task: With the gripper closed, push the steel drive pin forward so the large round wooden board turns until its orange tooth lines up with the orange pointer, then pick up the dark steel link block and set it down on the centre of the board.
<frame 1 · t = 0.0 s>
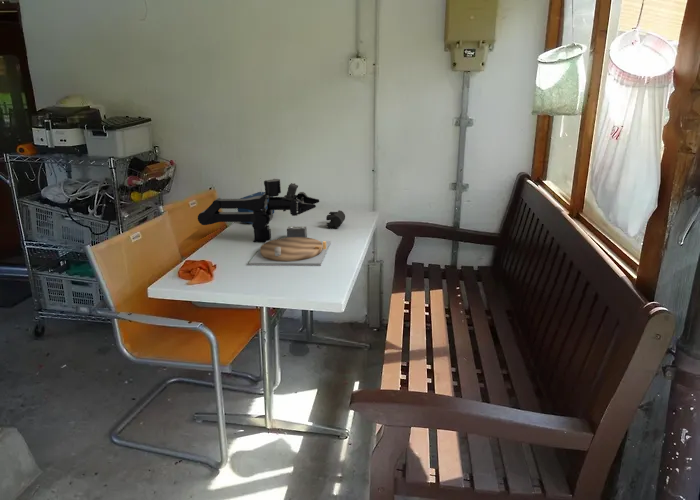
hand: (317, 203, 232), 17 cm above the table, tool horizontal, fingers open, 9 cm apart
round wooden board: (291, 245, 220), point 4 cm above the table, hinge at 0.0°
radio: (257, 219, 274), on the table
end cap: (336, 227, 257), on the table
base plate: (292, 253, 221), on the table
steel link block: (297, 238, 241), on the table
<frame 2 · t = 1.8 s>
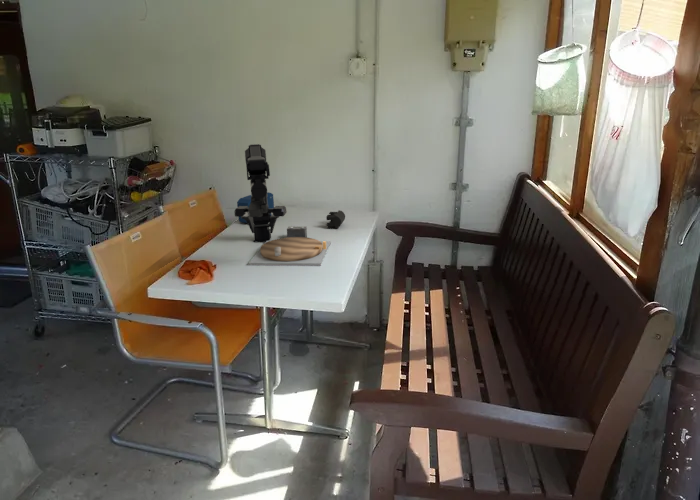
hand: (262, 233, 207), 12 cm above the table, tool pointing down, fingers open, 7 cm apart
nothing on the table moved.
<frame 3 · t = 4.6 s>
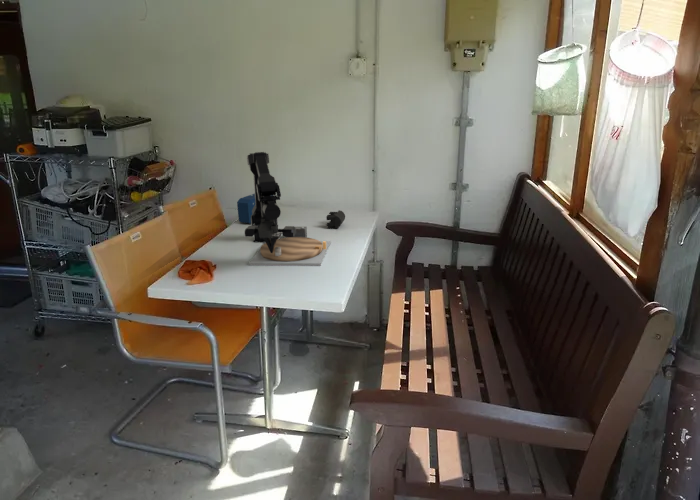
hand: (271, 252, 209), 4 cm above the table, tool pointing down, fingers closed
round wooden board: (291, 245, 220), point 4 cm above the table, hinge at 0.7°, touching gripper
everything else where it was.
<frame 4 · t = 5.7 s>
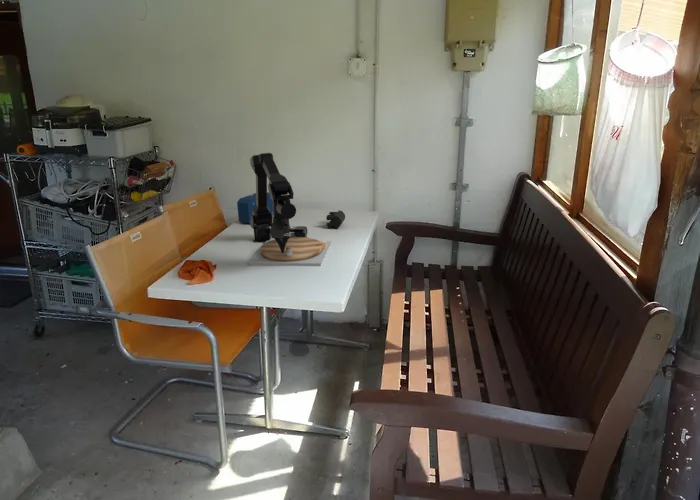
hand: (282, 252, 208), 4 cm above the table, tool pointing down, fingers closed
round wooden board: (291, 245, 220), point 4 cm above the table, hinge at 22.8°, touching gripper
everything else where it was.
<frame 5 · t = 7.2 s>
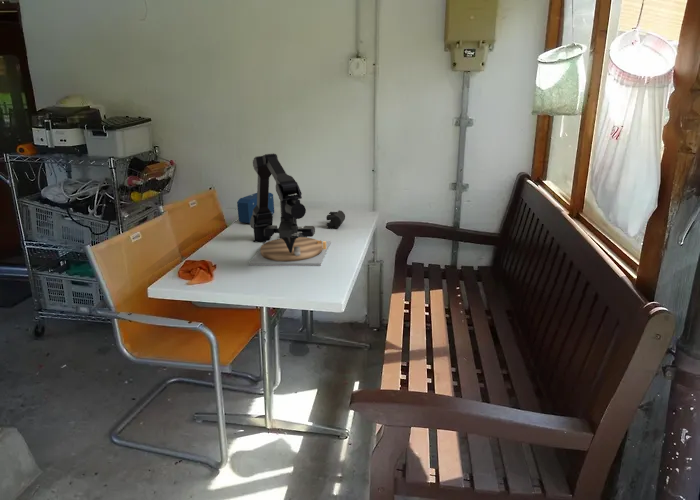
hand: (290, 252, 209), 4 cm above the table, tool pointing down, fingers closed
round wooden board: (291, 245, 220), point 4 cm above the table, hinge at 38.2°, touching gripper
everything else where it was.
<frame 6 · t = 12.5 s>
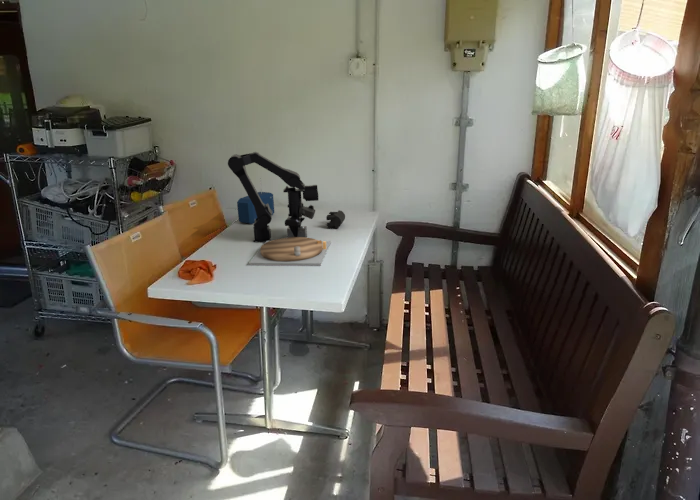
hand: (297, 236, 241), 1 cm above the table, tool pointing down, fingers closed on steel link block, 4 cm apart
round wooden board: (291, 245, 220), point 4 cm above the table, hinge at 38.4°
steel link block: (297, 238, 241), on the table, touching gripper
everything else where it was.
when the fingers open (6 cm above the table, at t = 17.2 s): steel link block drops 1 cm, resting on round wooden board.
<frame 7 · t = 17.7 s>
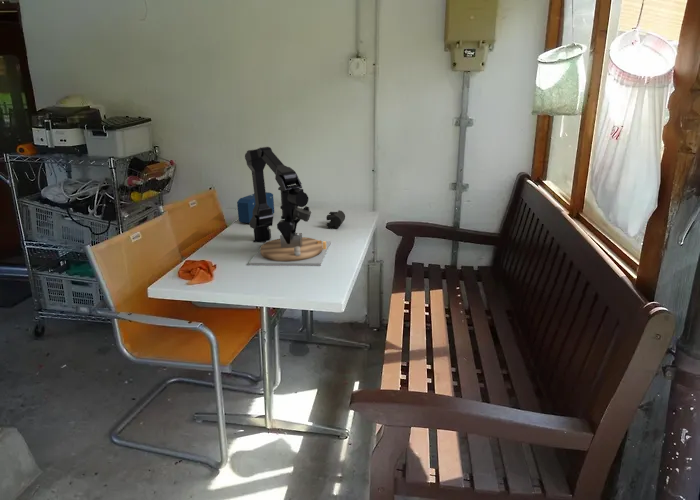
hand: (291, 240, 219), 6 cm above the table, tool pointing down, fingers open, 9 cm apart
round wooden board: (291, 245, 220), point 4 cm above the table, hinge at 38.4°, touching steel link block
steel link block: (291, 246, 220), point 3 cm above the table, touching round wooden board
everything else where it was.
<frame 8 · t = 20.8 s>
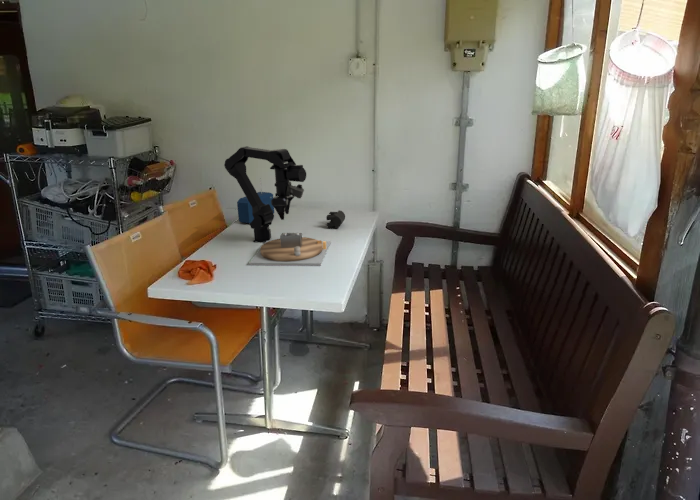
hand: (284, 216, 230), 12 cm above the table, tool pointing down, fingers open, 9 cm apart
nothing on the table moved.
at the end: round wooden board at +38° (first picture: +0°); steel link block inside the target area on the round wooden board (0.1 cm from its centre), point 3.2 cm above the round wooden board's base; the gripper is holding nothing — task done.
